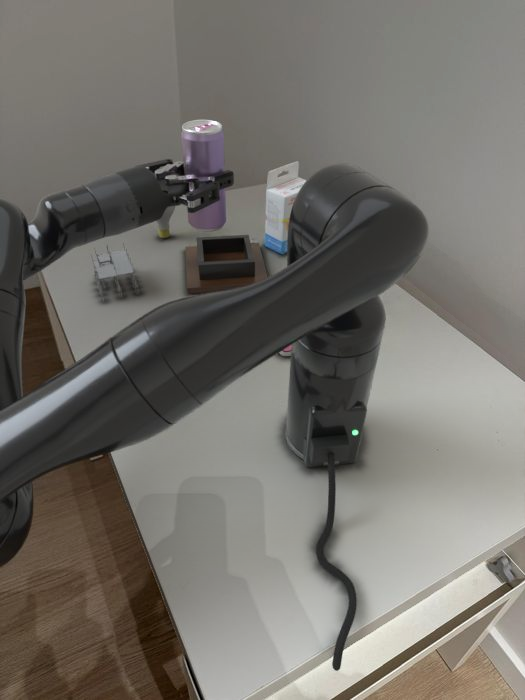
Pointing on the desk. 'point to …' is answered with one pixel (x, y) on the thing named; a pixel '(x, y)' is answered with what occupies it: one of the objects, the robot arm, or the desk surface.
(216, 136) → the beverage can
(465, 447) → the desk surface
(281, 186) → the ink box
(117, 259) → the building frame
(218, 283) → the base pad
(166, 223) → the light bulb
